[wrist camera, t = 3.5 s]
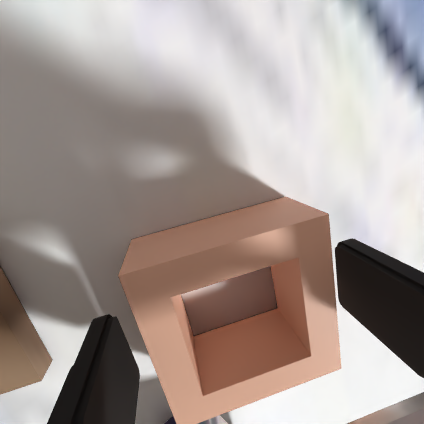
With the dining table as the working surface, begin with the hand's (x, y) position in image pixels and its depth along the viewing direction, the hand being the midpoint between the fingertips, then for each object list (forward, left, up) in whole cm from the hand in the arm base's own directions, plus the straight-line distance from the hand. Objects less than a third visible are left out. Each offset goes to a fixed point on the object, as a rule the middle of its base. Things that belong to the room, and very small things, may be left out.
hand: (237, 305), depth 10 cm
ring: (0, 0, -2) cm, 2 cm away
